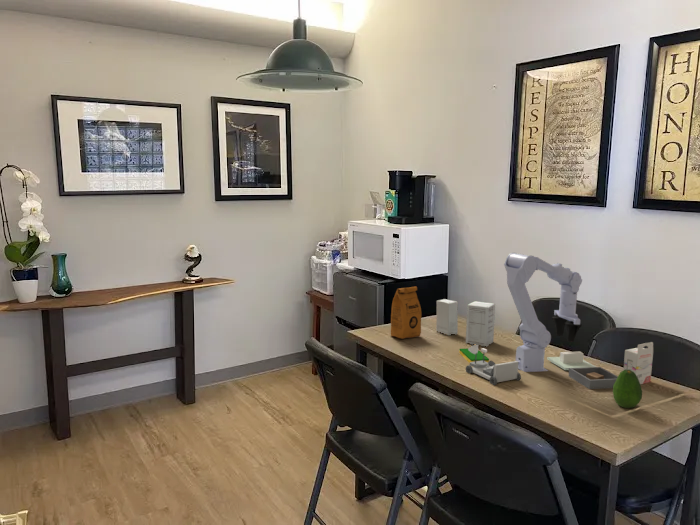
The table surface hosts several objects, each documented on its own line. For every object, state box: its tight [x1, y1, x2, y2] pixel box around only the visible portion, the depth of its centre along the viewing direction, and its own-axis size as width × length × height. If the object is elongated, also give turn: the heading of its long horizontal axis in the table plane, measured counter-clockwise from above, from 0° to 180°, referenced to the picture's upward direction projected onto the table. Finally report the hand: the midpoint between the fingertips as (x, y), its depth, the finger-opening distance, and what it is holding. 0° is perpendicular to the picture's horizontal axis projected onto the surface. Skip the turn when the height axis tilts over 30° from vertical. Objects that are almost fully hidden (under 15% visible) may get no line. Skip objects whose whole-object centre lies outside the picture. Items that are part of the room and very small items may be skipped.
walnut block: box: [586, 372, 604, 380], centre depth 184 cm, size 4×4×2 cm
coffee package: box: [390, 286, 423, 339], centre depth 234 cm, size 10×12×22 cm
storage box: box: [568, 366, 618, 390], centre depth 184 cm, size 12×12×4 cm
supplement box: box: [465, 300, 496, 348], centre depth 228 cm, size 10×9×17 cm
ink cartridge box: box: [623, 341, 654, 385], centre depth 184 cm, size 9×5×15 cm, turn 118°
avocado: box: [612, 369, 643, 409], centre depth 163 cm, size 8×8×12 cm
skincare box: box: [435, 298, 459, 336], centre depth 242 cm, size 8×6×15 cm
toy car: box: [465, 344, 522, 386], centre depth 189 cm, size 18×10×12 cm
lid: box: [546, 351, 597, 371], centre depth 200 cm, size 12×12×5 cm
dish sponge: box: [458, 347, 490, 364], centre depth 208 cm, size 7×14×2 cm, turn 7°
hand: (565, 338), depth 202 cm, fingers open, 7 cm apart
